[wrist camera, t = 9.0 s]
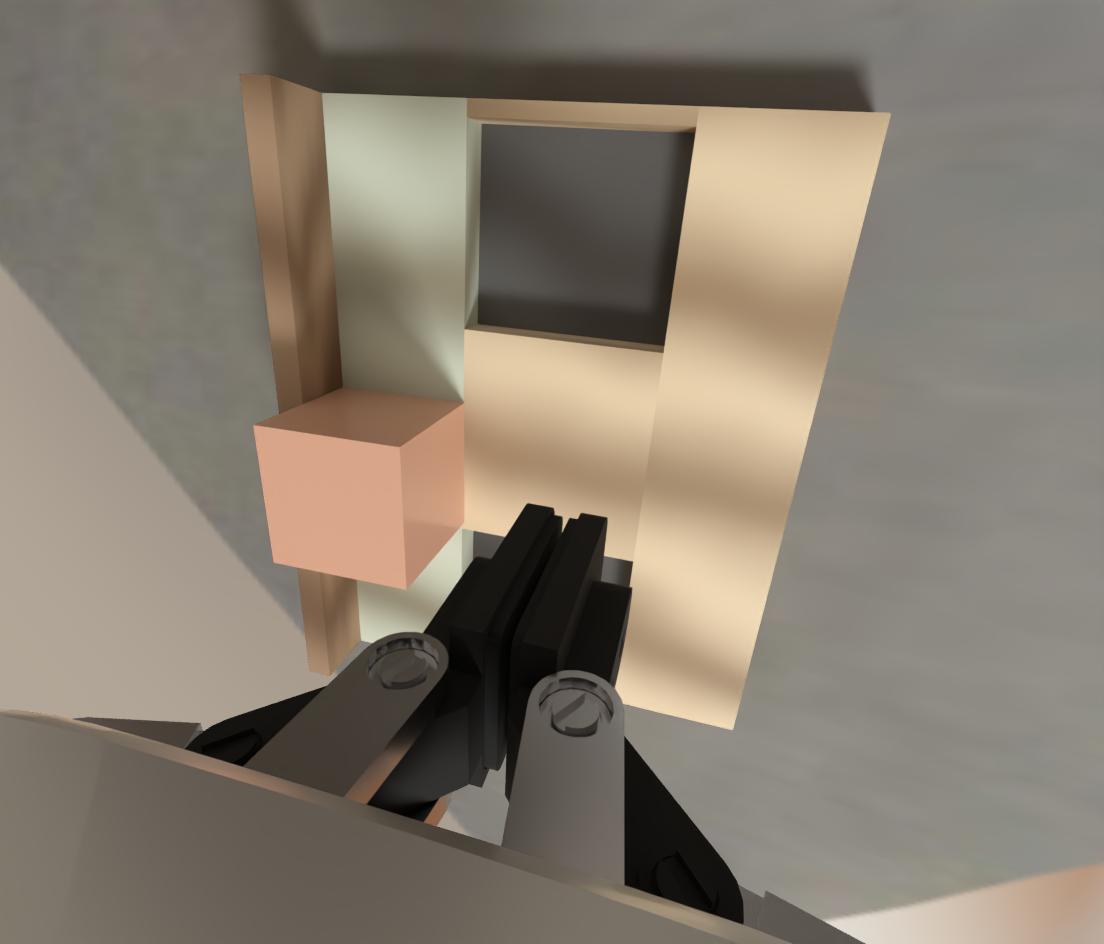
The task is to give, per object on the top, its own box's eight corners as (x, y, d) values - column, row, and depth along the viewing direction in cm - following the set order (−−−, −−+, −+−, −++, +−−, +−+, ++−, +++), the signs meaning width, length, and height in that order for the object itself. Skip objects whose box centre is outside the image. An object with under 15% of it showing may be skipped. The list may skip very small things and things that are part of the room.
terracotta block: (343, 387, 23) (253, 425, 18) (464, 402, 22) (400, 447, 17) (353, 502, 25) (273, 562, 20) (464, 522, 24) (406, 589, 19)
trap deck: (322, 100, 21) (239, 73, 17) (877, 122, 17) (920, 93, 13) (359, 616, 29) (309, 671, 26) (731, 704, 26) (734, 780, 22)
